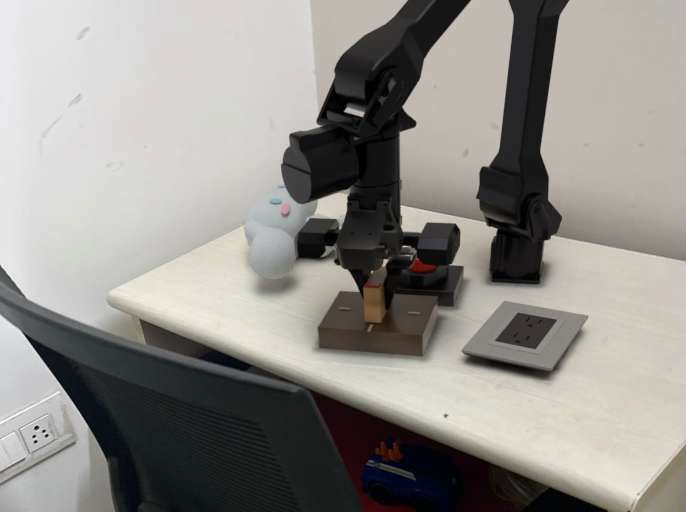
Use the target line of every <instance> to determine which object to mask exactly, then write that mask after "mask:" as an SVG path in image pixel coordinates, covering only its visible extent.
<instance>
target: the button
mask: <svg viewBox="0 0 686 512" xmlns="http://www.w3.org/2000/svg"><path fill="white" fill-rule="evenodd" d="M436 267H437V265H424V264H423V263H422V262H421V261H420V260H419V259H418V258H416V260H415V262H414V264H413V266H412V267H411V268H410V269H409V270H412V271H420V272H424V271H429V270H433V269H435V268H436Z"/></svg>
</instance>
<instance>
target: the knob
mask: <svg viewBox="0 0 686 512" xmlns="http://www.w3.org/2000/svg"><path fill="white" fill-rule="evenodd" d="M386 279H387V271H386V267H385V266H382V267H381V268H380V269H378V270H376V271H371V276H370V277H369V279H368V281H367V282H366V284H365V286H364V287H363V292H364V313H365V322H373V323H381V321H382V319H383V318H384V316H385V314H386V312H387V310H386V307H385V292H386Z"/></svg>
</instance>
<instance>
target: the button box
mask: <svg viewBox="0 0 686 512" xmlns="http://www.w3.org/2000/svg"><path fill="white" fill-rule="evenodd" d="M464 268H465V266H464V265H453V264H450V265H447V266H441V265H437V267H436V268H435V269H433V270H429V271H424V272H420V271H412V270H409V269H403V272H402V274H401V277H400V280H399V283H398V286H397V289H396V292H395V294H403V295H421V296H438V307H448V308H454V306H455V304H456V302H457V298H458V296H459V293H460V290H461V287H462V284H463V282H464V271H465V269H464Z"/></svg>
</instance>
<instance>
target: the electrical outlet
mask: <svg viewBox="0 0 686 512" xmlns="http://www.w3.org/2000/svg"><path fill="white" fill-rule="evenodd" d="M588 319H589V315H587V314H582V313H576V312H570V311H565V310H559V309H554V308H549V307H543V306H537V305H532V304H525V303H520V302H514V301H508V300H503V301H502V302H501V303H500V305H499V306H498V307H497V308H496V309H495V310H494V312H493V313H492V314H491V315H490V316H489V317H488V319H486V321H485V322H484V323H483V324H482V325H481V326H480V327H479V329H478V330H477V332H475V334H474V335H473V336H472V337H471V338H470V339H469V341H467V343H466V344H465V345H464V346H463V347H462V349H461V353H463V354H464V355H466V356H470V357H474V358H480V359H485V360H489V361H494V362H499V363H503V364H508V365H513V366H518V367H522V368H527V369H532V370H536V371H540V372H545V373H551V372H553V369H554V368H555V367H556V365H557V364H558V362H559V361H560V359H561V358H562V357H563V355H564V354H565V353H566V351H567V349H568V348H569V346H570V345H571V344H572V342H573V341H574V339H575V338H576V336H577V335H578V333H579V332H580V330H581V329H582V327H583V326H584V325H585V324H586V322H587V320H588Z"/></svg>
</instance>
